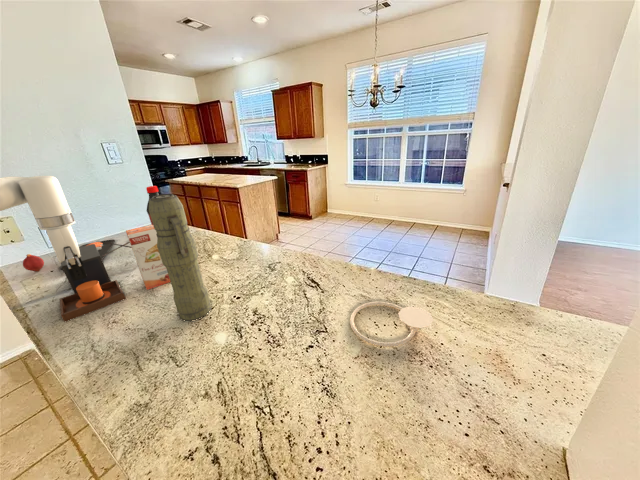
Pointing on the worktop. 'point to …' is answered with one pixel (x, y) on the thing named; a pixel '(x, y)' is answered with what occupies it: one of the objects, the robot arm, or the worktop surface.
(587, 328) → the worktop surface
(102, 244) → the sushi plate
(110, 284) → the tray
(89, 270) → the charcoal grey box
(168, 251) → the thermos
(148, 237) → the cracker box
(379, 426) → the worktop surface
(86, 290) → the hat
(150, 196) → the cola bottle
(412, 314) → the hand towel holder
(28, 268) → the onion
